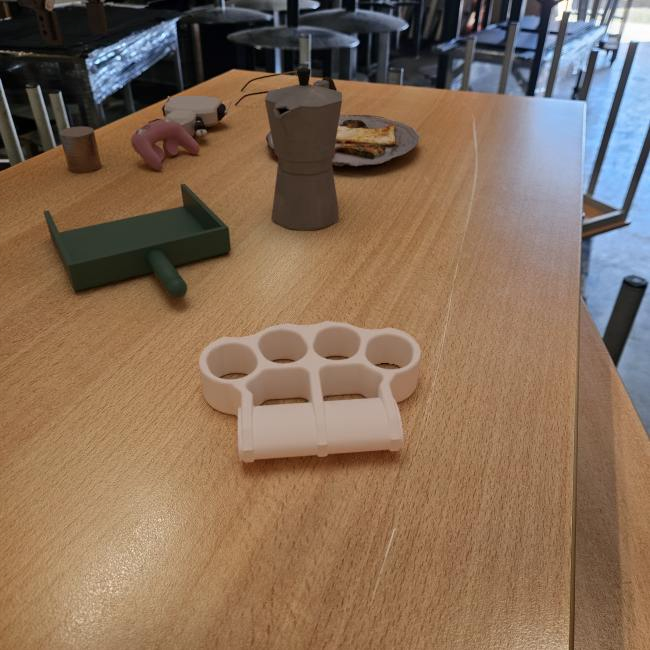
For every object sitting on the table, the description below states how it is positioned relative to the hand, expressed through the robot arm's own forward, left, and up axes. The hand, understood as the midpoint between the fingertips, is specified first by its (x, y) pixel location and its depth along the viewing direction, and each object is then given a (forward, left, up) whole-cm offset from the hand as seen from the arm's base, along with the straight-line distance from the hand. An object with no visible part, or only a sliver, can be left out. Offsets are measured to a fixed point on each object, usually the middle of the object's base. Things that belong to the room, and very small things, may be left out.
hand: (77, 38), depth 75 cm
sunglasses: (+41, +26, -19) cm, 52 cm away
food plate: (+37, -8, -19) cm, 42 cm away
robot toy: (+18, +13, -19) cm, 29 cm away
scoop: (-2, -29, -18) cm, 34 cm away
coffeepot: (+20, -27, -19) cm, 38 cm away
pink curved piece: (+10, +1, -19) cm, 21 cm away
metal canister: (-2, +4, -18) cm, 19 cm away
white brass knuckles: (+3, -58, -19) cm, 60 cm away
